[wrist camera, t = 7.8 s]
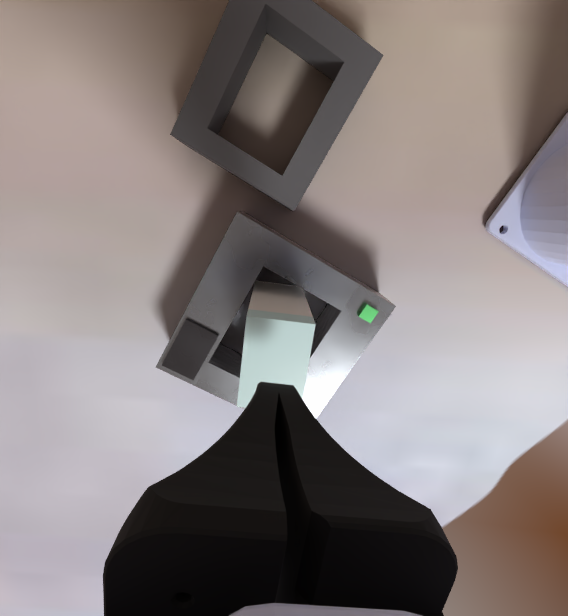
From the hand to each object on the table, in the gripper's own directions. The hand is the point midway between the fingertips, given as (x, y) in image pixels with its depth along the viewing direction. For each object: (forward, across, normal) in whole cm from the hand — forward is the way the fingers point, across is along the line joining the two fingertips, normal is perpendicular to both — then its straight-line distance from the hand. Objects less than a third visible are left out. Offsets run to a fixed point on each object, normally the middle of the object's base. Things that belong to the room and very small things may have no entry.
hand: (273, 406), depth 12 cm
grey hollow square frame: (+10, +2, -12) cm, 16 cm away
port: (+10, 0, 0) cm, 10 cm away
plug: (+10, 0, 0) cm, 10 cm away
